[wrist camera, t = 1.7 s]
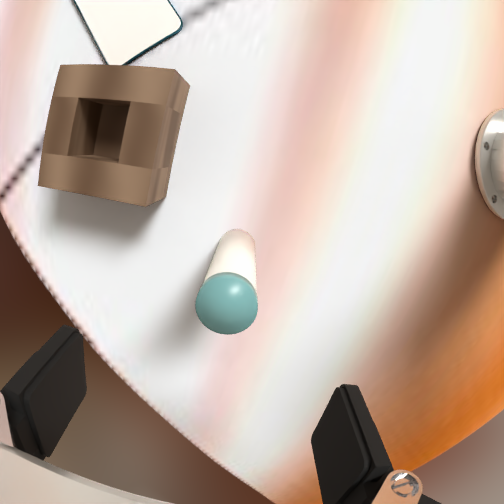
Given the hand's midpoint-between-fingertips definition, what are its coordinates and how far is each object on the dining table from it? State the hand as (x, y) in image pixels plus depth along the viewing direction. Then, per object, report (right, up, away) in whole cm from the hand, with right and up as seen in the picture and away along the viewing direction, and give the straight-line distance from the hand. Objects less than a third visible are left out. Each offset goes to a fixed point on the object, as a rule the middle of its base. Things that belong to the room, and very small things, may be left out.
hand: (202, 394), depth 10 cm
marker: (0, +5, +18) cm, 19 cm away
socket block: (-9, +15, +15) cm, 24 cm away
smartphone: (-11, +30, +11) cm, 34 cm away
